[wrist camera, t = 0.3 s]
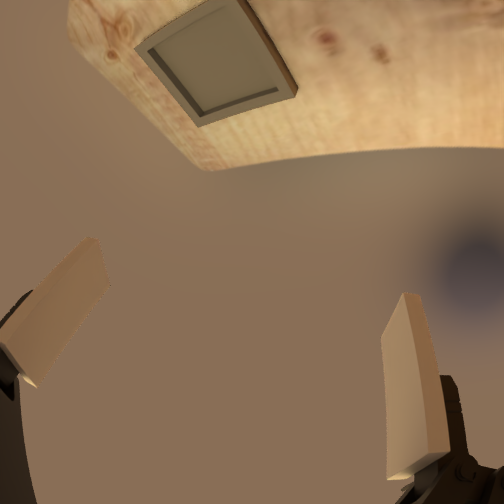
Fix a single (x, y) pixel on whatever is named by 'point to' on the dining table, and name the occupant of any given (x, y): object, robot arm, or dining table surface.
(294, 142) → the dining table surface
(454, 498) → the robot arm
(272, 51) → the gray tray
